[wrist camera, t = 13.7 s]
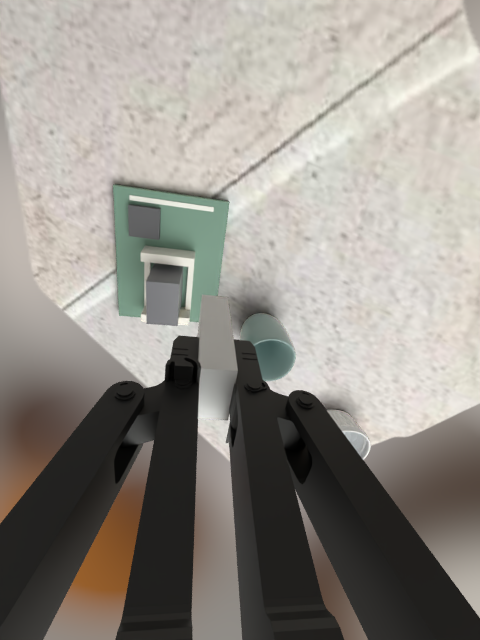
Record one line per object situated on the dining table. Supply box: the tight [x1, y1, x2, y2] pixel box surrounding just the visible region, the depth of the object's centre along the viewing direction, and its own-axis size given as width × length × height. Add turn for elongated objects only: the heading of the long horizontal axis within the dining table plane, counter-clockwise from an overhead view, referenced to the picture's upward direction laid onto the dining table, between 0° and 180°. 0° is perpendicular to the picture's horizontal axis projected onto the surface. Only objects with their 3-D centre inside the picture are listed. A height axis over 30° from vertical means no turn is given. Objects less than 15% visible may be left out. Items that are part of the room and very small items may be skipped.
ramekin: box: [327, 410, 371, 460], centre depth 63 cm, size 13×13×7 cm
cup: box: [240, 313, 296, 381], centre depth 48 cm, size 8×8×10 cm
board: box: [113, 184, 229, 325], centre depth 43 cm, size 19×15×5 cm
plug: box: [146, 263, 184, 326], centre depth 42 cm, size 7×4×8 cm, turn 172°
